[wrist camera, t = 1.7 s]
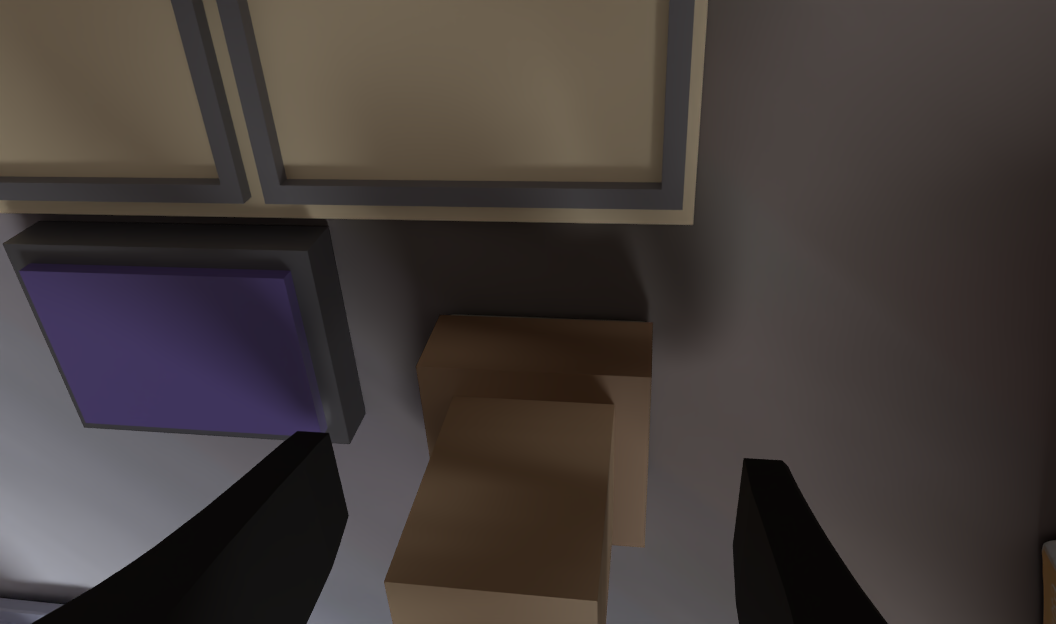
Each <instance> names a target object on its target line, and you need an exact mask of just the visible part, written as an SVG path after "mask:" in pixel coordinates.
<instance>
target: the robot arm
mask: <svg viewBox="0 0 1056 624" xmlns="http://www.w3.org/2000/svg"><path fill="white" fill-rule="evenodd" d="M348 516H349V515H348V511H347V507H346V502H345V498H344V494H343V490H342V485H341V481H340V477H339V473H338V468H337V464H336V460H335V455H334V451H333V447H332V443H331V438H330V434H329V433H323V432H307V431H297V432H295V433H294V434H293V435H292V436H290V437H289V438H288V439H287V440H285V441H284V442H283V443H282V444H281V445H279V446H278V447H277V448H276V449H275V450H273V451H272V452H271V453H270V454H269V455H268V456H266V457H265V458H264V459H263V460H262V461H261V462H259V463H258V464H257V465H256V466H255V467H254V468H252V469H251V470H250V471H249V472H248V473H247V474H245V475H244V476H243V477H242V478H241V479H239V480H238V481H237V482H236V483H235V484H233V485H232V486H231V487H230V488H229V489H227V490H226V491H225V492H224V493H223V494H221V495H220V496H219V497H218V498H217V499H215V500H214V501H213V502H212V503H211V504H209V505H208V506H207V507H206V508H204V509H203V510H202V511H200V512H199V513H198V514H197V515H195V516H194V517H193V518H191V519H190V520H189V521H187V522H186V523H185V524H183V525H182V526H181V527H180V528H178V529H177V530H176V531H174V532H173V533H172V534H170V535H169V536H168V537H166V538H165V539H164V540H163V541H161V542H160V543H159V544H157V545H156V546H155V547H153V548H152V549H150V550H149V551H148V552H146V553H145V554H143V555H142V556H140V557H139V558H138V559H136V560H135V561H133V562H132V563H130V564H129V565H127V566H126V567H124V568H123V569H121V570H120V571H118V572H117V573H115V574H113V575H112V576H110V577H109V578H107V579H106V580H104V581H103V582H101V583H100V584H98V585H96V586H95V587H93V588H92V589H90V590H88V591H87V592H85V593H83V594H82V595H80V596H78V597H76V598H75V599H73V600H71V601H69V602H68V603H66V604H56V603H46V602H36V601H26V600H16V599H6V598H0V624H307V621H308V619H309V617H310V615H311V613H312V611H313V609H314V606H315V604H316V602H317V600H318V598H319V596H320V593H321V591H322V589H323V587H324V585H325V583H326V580H327V578H328V576H329V574H330V571H331V569H332V567H333V564H334V561H335V558H336V555H337V552H338V549H339V546H340V542H341V539H342V536H343V532H344V529H345V526H346V522H347V519H348ZM733 558H734V578H735V595H736V607H737V613H738V620H739V624H888V623H887V622H886V621H885V619H884V618H883V617H882V615H881V614H880V613H879V611H878V610H877V609H876V607H875V606H874V605H873V603H872V602H871V601H870V599H869V598H868V597H867V595H866V594H865V593H864V591H863V590H862V588H861V587H860V586H859V584H858V583H857V581H856V580H855V578H854V577H853V576H852V574H851V573H850V571H849V570H848V568H847V567H846V565H845V564H844V562H843V561H842V559H841V558H840V556H839V554H838V553H837V551H836V550H835V548H834V547H833V545H832V544H831V542H830V541H829V539H828V538H827V536H826V534H825V533H824V531H823V530H822V528H821V526H820V525H819V523H818V521H817V519H816V518H815V516H814V514H813V513H812V511H811V509H810V507H809V506H808V504H807V502H806V500H805V499H804V497H803V495H802V493H801V491H800V489H799V487H798V486H797V484H796V482H795V480H794V478H793V476H792V474H791V472H790V469H789V467H788V466H787V465H786V464H785V463H784V462H783V461H782V460H766V459H749V458H744V460H743V468H742V476H741V484H740V492H739V500H738V508H737V516H736V524H735V532H734V540H733Z"/></svg>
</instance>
